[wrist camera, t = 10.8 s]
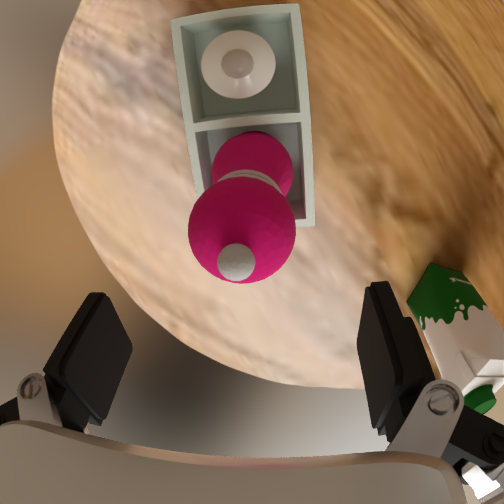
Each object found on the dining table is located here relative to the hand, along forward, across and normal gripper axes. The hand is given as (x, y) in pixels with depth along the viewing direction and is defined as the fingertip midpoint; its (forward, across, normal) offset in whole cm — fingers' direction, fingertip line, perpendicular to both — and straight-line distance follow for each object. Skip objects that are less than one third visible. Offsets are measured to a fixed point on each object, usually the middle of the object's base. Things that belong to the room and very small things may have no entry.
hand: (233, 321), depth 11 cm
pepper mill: (+24, +1, +1) cm, 24 cm away
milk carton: (+24, -24, +20) cm, 40 cm away
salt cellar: (+24, +1, -9) cm, 25 cm away
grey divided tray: (+25, +1, -4) cm, 25 cm away
